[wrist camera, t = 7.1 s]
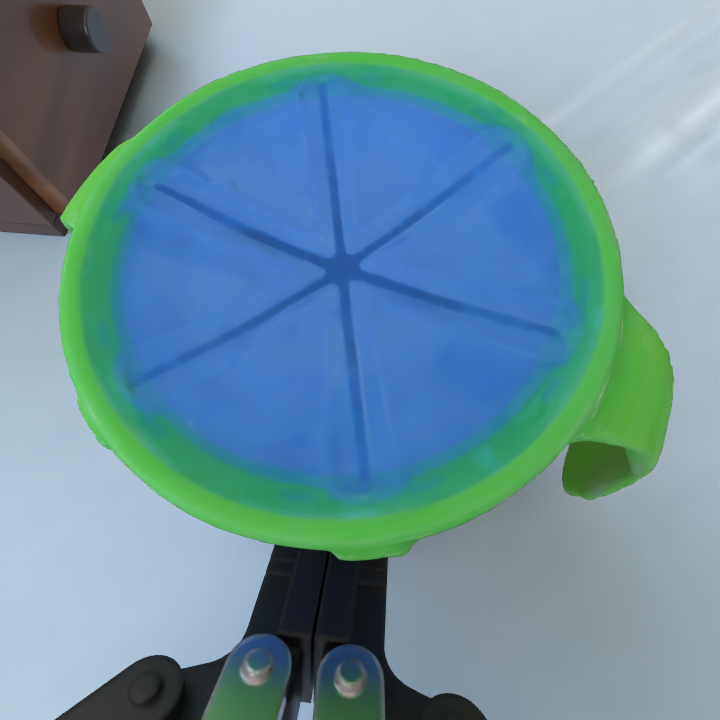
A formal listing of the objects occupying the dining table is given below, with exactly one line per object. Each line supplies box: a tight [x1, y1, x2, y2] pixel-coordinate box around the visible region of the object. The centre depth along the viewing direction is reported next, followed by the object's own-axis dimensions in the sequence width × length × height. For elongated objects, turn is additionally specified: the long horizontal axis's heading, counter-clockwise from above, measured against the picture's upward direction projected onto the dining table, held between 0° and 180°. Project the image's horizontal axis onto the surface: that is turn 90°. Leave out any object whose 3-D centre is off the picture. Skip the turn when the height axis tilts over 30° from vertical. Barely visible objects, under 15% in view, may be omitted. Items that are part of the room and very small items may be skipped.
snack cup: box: [59, 52, 674, 561], centre depth 13 cm, size 16×10×10 cm
